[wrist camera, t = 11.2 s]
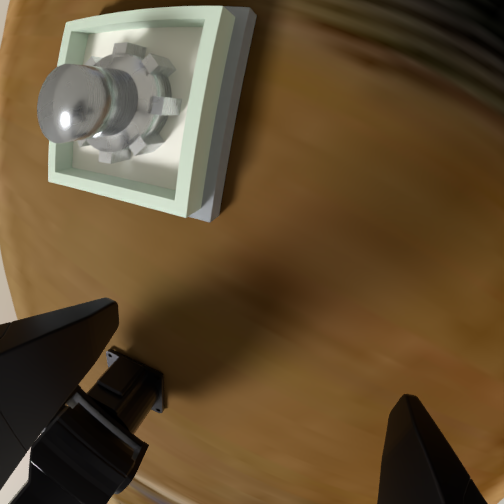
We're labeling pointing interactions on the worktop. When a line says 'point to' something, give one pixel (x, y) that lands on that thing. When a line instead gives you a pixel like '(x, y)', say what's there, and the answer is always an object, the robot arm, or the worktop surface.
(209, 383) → the worktop surface
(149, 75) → the gear
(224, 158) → the square tray
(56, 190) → the worktop surface
